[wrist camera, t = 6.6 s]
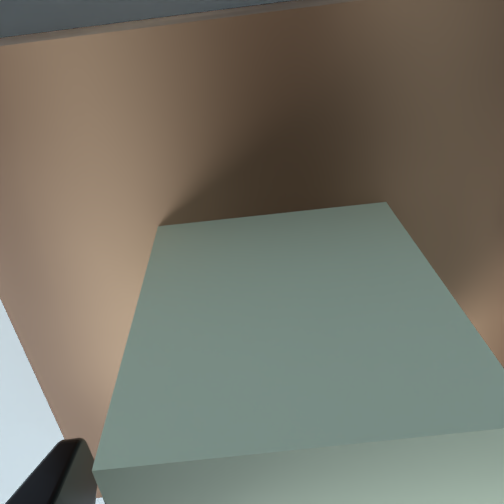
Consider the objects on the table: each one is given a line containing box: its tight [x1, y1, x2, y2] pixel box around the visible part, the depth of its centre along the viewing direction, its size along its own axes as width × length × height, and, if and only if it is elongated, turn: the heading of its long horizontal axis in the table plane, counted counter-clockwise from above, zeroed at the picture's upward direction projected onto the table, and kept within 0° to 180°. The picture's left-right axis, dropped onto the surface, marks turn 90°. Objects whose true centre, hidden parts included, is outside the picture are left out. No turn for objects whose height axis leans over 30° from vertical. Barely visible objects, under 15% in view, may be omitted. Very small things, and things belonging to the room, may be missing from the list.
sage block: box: [92, 202, 504, 504], centre depth 9 cm, size 5×5×6 cm
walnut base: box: [0, 0, 504, 498], centre depth 13 cm, size 13×13×3 cm
